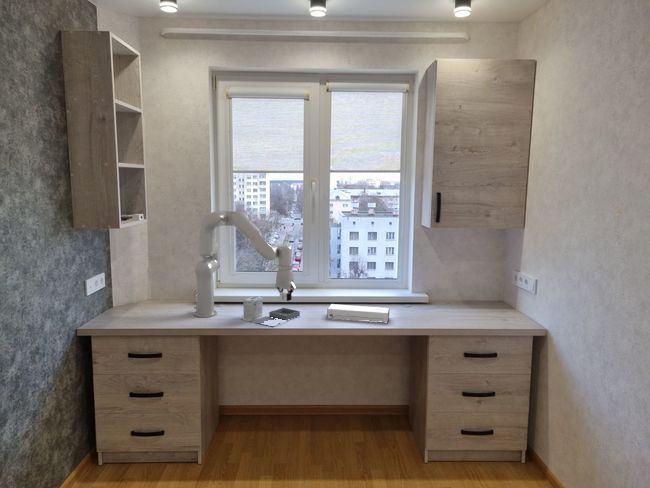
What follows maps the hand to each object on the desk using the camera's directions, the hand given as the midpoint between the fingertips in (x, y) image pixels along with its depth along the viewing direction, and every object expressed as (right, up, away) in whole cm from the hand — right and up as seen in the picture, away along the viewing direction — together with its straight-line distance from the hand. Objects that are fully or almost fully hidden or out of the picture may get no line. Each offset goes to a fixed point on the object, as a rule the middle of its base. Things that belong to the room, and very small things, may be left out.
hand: (285, 299), depth 248 cm
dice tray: (-1, -10, +1) cm, 10 cm away
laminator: (+41, -11, 0) cm, 43 cm away
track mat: (-12, -11, -7) cm, 17 cm away
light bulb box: (-18, -10, -3) cm, 21 cm away
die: (0, 0, 0) cm, 0 cm away
